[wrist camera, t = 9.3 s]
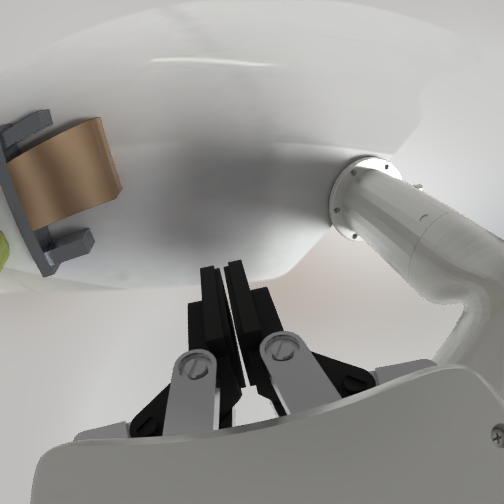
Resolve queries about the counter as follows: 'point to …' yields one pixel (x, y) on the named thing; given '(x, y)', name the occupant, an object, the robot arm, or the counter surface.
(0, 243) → the plant pot
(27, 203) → the walnut slab
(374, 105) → the counter surface
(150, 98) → the counter surface
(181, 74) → the counter surface
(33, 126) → the stop bracket
